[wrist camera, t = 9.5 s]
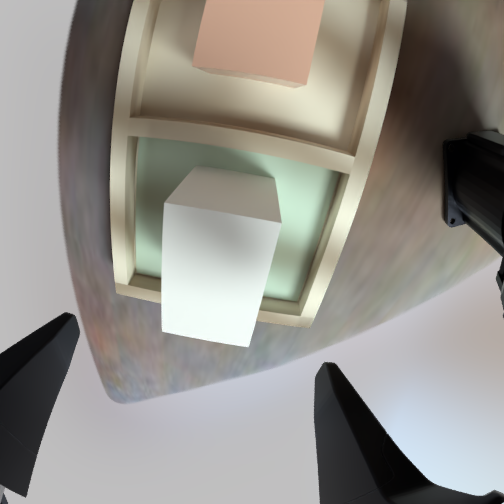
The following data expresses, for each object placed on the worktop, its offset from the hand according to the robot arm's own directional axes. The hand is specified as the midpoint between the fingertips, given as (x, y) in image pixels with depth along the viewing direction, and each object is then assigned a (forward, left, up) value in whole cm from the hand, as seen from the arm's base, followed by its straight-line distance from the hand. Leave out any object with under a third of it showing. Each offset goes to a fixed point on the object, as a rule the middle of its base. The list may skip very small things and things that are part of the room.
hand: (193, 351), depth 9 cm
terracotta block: (+10, -5, -10) cm, 15 cm away
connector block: (0, 0, -10) cm, 10 cm away
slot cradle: (+5, -3, -11) cm, 12 cm away
